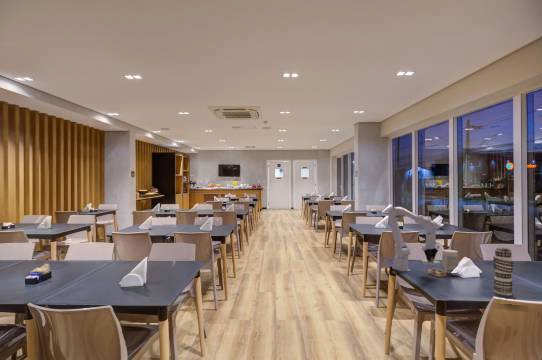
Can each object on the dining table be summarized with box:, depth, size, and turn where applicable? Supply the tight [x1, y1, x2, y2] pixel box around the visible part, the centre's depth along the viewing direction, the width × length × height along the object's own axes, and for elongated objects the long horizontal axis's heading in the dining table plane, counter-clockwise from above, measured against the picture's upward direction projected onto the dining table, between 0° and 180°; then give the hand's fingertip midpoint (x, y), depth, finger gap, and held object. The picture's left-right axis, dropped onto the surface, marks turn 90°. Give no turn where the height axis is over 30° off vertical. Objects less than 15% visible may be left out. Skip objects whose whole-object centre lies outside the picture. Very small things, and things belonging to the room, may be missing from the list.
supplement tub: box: [441, 249, 459, 274], centre depth 224 cm, size 10×10×15 cm
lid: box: [420, 257, 442, 266], centre depth 214 cm, size 9×7×4 cm
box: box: [427, 268, 448, 278], centre depth 216 cm, size 9×7×3 cm
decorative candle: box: [492, 246, 514, 296], centre depth 183 cm, size 9×9×25 cm
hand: (430, 260), depth 214 cm, fingers closed on lid, 3 cm apart
